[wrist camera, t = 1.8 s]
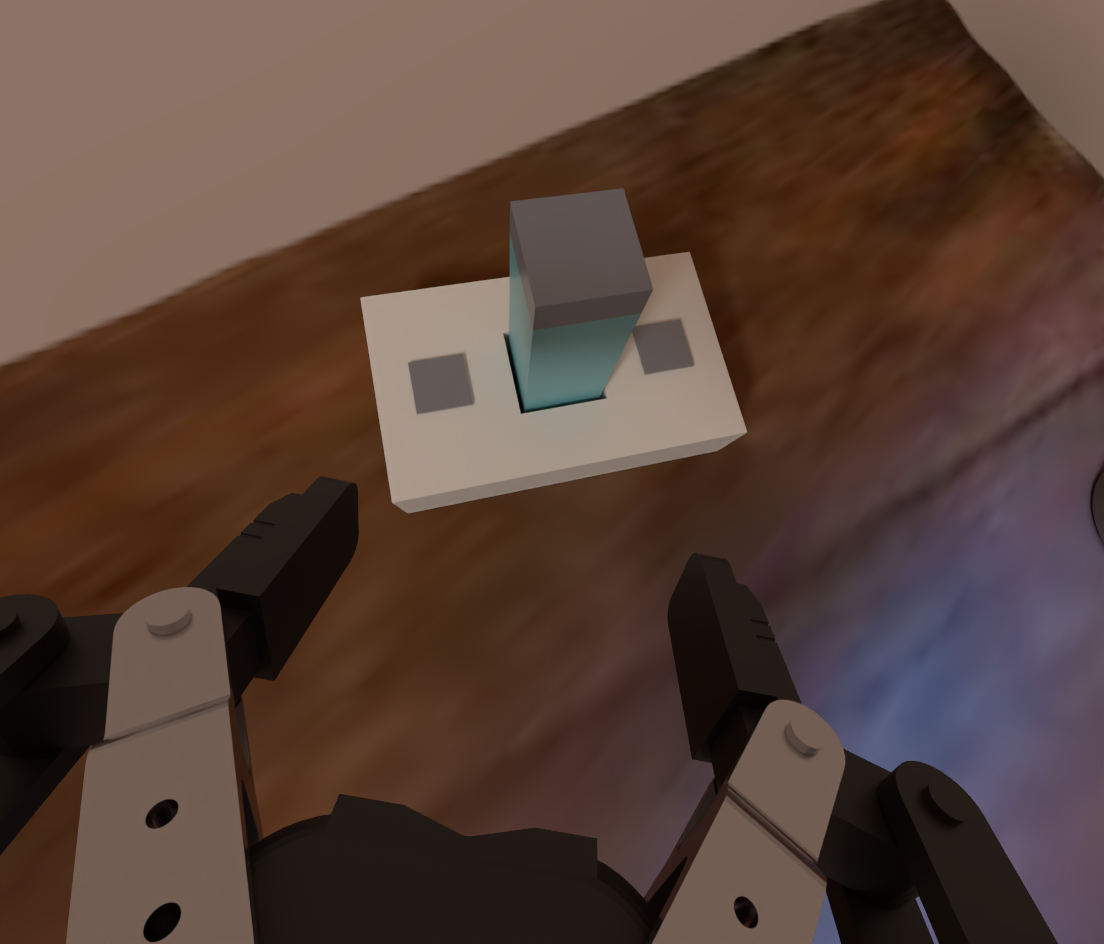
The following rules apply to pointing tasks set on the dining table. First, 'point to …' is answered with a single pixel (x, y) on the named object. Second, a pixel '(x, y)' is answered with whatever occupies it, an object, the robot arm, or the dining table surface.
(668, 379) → the block
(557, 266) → the plug
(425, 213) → the dining table surface
